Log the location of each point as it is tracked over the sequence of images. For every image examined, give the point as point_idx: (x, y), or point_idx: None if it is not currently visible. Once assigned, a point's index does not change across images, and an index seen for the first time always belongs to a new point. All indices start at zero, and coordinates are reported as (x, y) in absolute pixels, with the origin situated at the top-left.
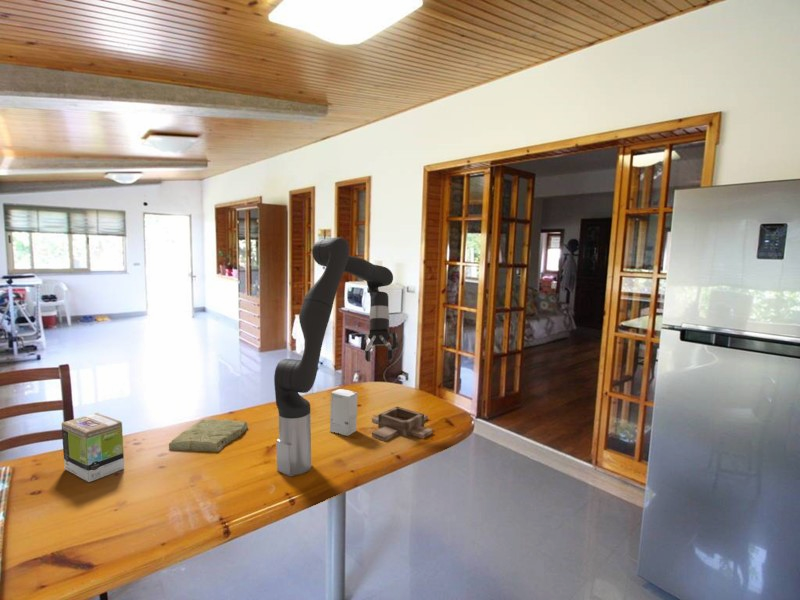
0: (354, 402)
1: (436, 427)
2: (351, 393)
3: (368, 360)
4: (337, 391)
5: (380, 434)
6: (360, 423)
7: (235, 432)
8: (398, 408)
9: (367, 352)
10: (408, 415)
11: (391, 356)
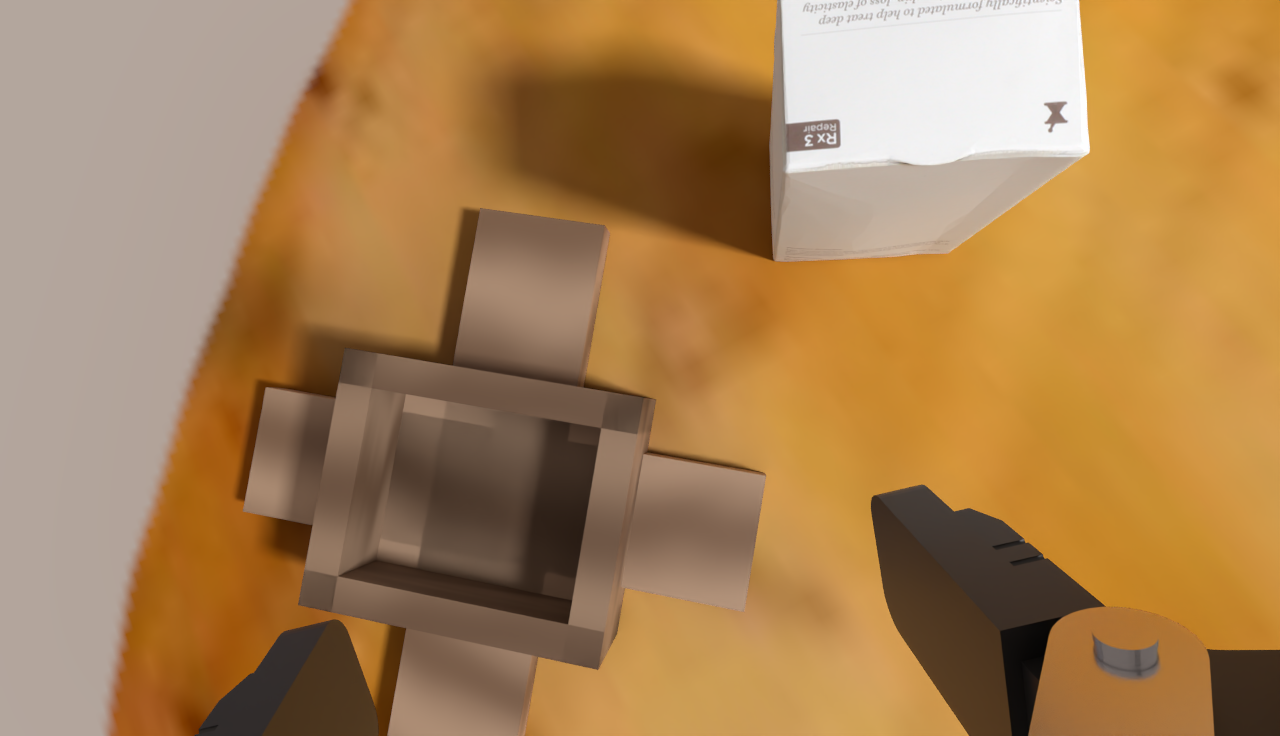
0: (775, 134)
1: (276, 622)
2: (823, 83)
3: (876, 502)
4: (1026, 23)
5: (531, 230)
6: (830, 398)
7: None
8: (559, 627)
9: (1017, 602)
10: (455, 589)
11: (217, 718)
